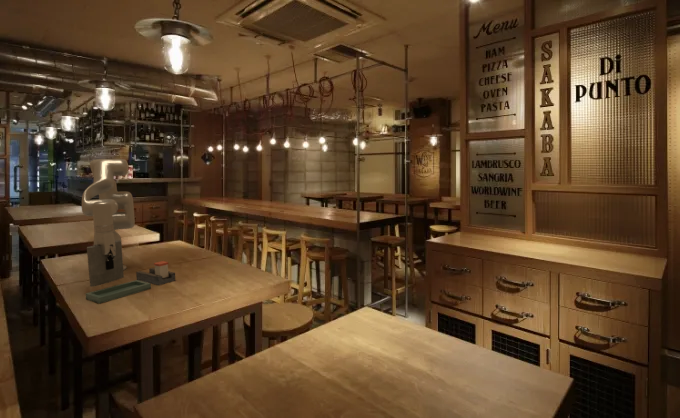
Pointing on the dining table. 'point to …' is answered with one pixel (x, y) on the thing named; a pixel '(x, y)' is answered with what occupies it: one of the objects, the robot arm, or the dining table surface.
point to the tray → (117, 291)
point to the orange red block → (161, 269)
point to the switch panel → (155, 277)
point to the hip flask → (104, 265)
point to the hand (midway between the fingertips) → (107, 267)
